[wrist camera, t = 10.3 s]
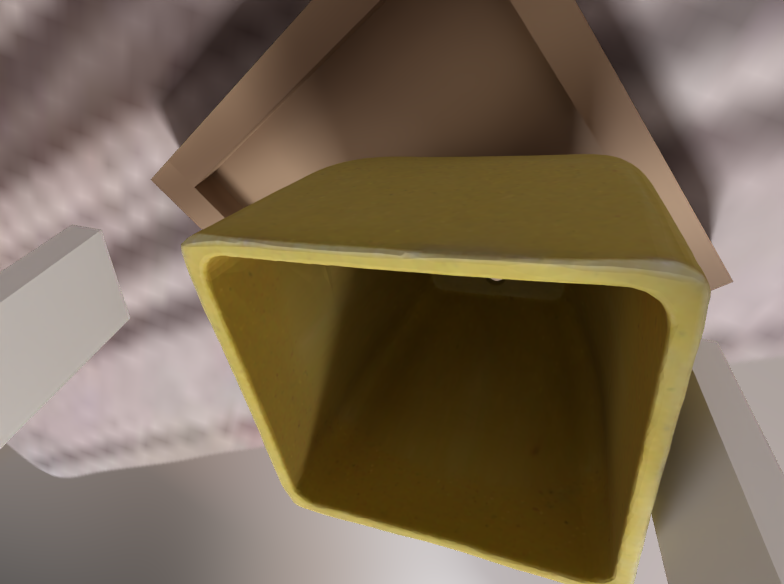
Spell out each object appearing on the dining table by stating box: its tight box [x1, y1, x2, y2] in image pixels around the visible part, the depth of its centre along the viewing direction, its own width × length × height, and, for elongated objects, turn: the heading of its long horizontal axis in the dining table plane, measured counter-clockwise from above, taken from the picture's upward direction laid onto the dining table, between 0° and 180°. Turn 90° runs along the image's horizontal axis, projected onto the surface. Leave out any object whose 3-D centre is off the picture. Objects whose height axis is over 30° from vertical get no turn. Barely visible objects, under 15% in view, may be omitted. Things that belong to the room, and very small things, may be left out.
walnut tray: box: [151, 0, 733, 291], centre depth 17 cm, size 14×14×2 cm
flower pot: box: [181, 154, 711, 584], centre depth 13 cm, size 9×9×9 cm
